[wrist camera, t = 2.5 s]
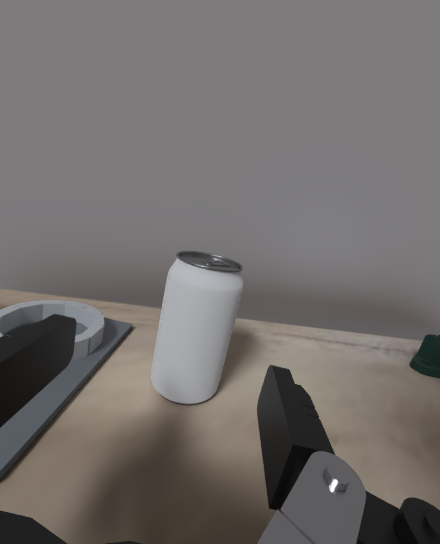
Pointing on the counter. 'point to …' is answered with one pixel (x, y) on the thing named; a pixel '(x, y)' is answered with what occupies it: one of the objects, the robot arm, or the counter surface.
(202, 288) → the can
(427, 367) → the mount
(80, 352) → the holder
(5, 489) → the counter surface
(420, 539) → the robot arm
